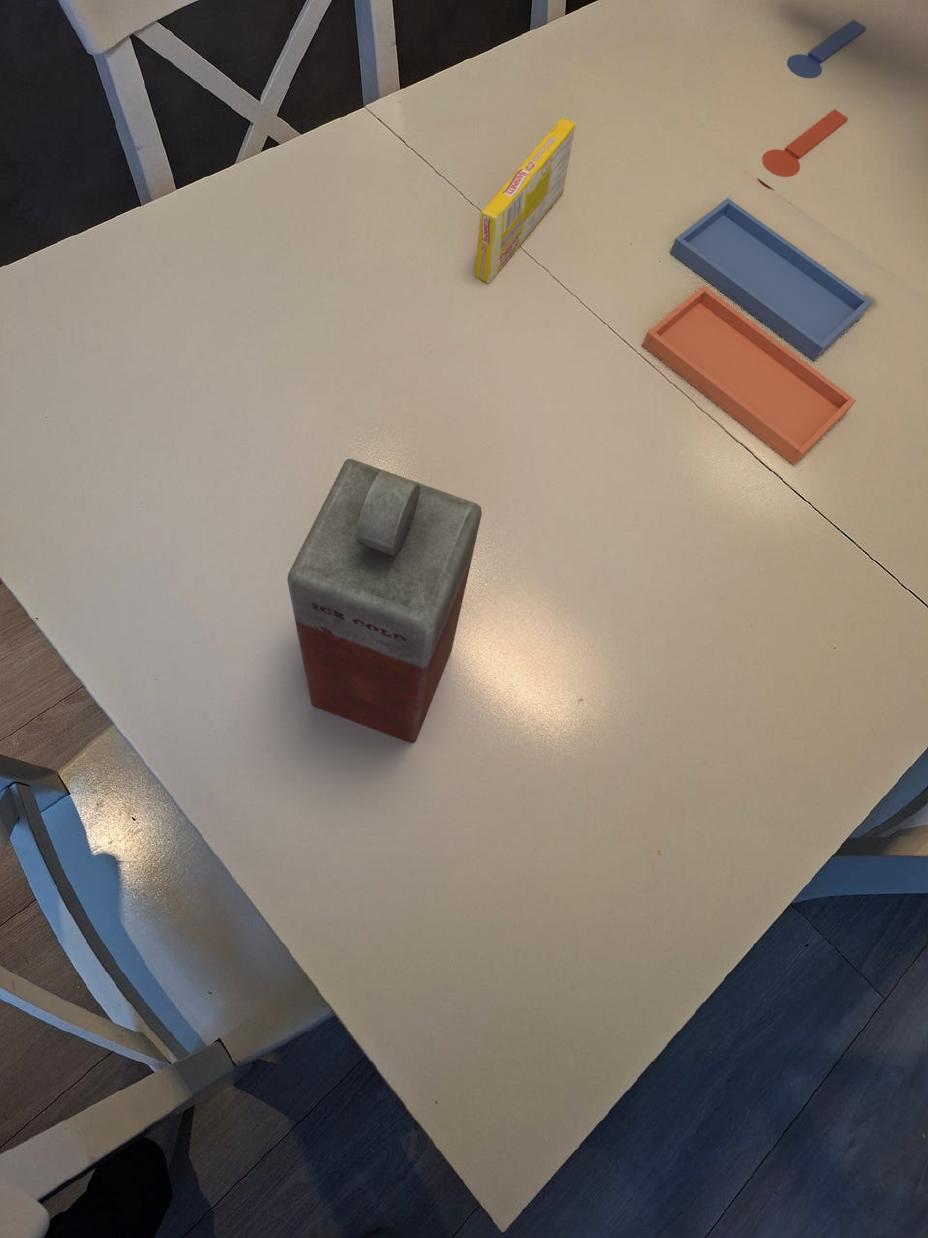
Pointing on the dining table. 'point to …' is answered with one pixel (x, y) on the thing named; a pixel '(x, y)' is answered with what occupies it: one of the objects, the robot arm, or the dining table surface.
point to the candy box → (523, 201)
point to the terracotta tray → (748, 374)
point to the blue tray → (770, 278)
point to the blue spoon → (823, 51)
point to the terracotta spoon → (801, 147)
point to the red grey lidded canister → (381, 596)
